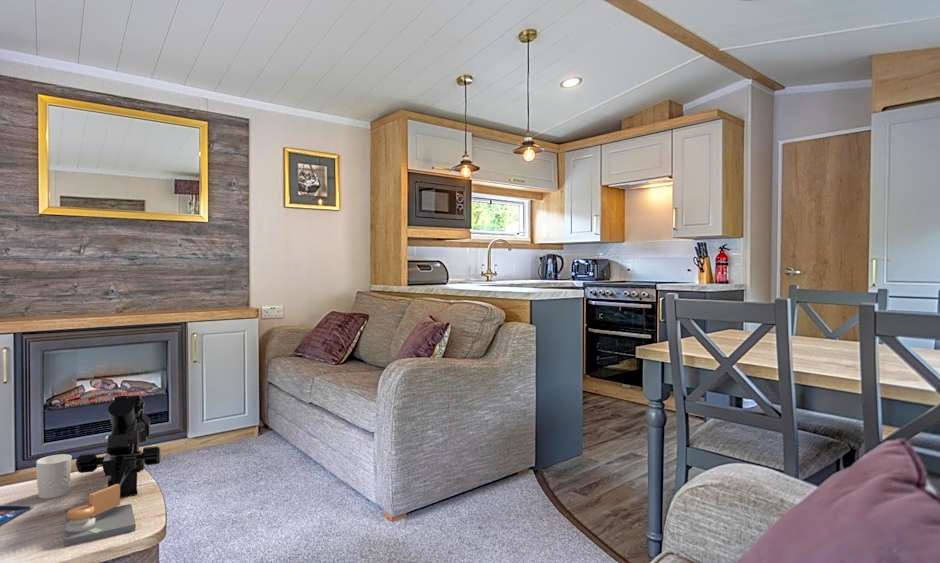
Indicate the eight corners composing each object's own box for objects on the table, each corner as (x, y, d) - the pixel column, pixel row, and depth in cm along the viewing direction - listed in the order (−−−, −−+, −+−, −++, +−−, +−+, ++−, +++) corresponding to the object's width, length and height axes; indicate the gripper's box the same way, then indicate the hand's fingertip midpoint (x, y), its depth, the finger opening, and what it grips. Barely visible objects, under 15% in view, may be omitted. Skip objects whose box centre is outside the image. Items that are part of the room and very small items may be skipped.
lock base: (131, 509, 140) (131, 494, 140) (135, 530, 128) (136, 514, 128) (66, 522, 131) (66, 506, 131) (64, 547, 120) (65, 529, 120)
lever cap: (77, 527, 123) (77, 504, 123) (61, 523, 125) (62, 501, 125) (125, 506, 134) (125, 485, 134) (110, 502, 136) (111, 482, 136)
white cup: (31, 501, 143) (32, 465, 143) (39, 491, 150) (40, 456, 150) (67, 497, 146) (68, 461, 146) (73, 486, 153) (74, 452, 153)
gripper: (78, 424, 137) (67, 481, 127) (160, 417, 145) (156, 470, 136) (83, 444, 144) (74, 500, 134) (162, 437, 153) (158, 489, 143)
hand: (116, 489), depth 137 cm, fingers closed
